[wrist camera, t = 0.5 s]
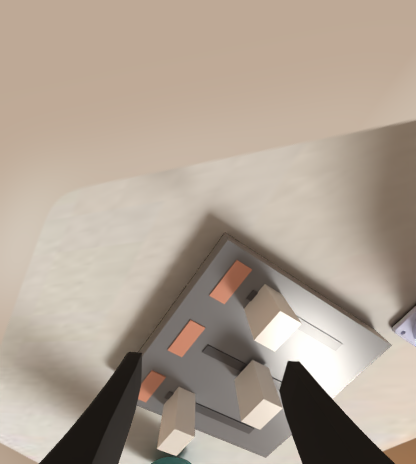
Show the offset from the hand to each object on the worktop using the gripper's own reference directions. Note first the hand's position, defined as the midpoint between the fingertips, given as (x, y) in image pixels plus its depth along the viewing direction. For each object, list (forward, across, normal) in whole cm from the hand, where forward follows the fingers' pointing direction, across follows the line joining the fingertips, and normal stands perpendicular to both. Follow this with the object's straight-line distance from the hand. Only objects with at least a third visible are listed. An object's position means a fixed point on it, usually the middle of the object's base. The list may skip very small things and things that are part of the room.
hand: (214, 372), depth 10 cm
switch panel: (+10, -5, +9) cm, 14 cm away
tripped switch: (+7, -5, +9) cm, 13 cm away
